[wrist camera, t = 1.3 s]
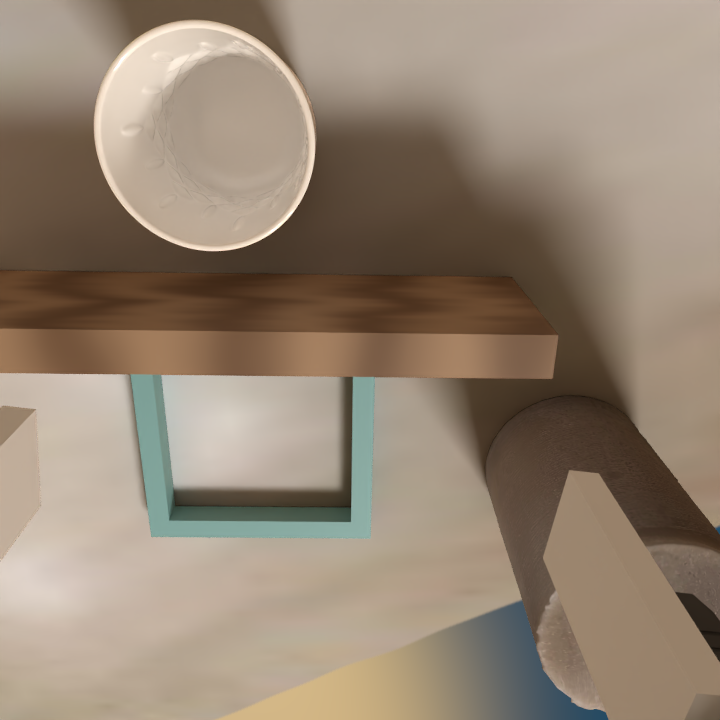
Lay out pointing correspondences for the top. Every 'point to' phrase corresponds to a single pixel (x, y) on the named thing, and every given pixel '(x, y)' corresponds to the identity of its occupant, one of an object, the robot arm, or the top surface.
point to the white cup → (205, 135)
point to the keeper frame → (250, 519)
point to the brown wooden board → (271, 325)
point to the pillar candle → (629, 488)
